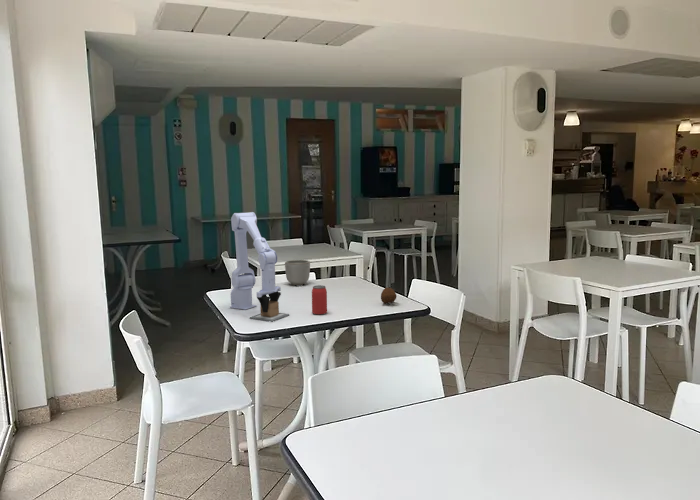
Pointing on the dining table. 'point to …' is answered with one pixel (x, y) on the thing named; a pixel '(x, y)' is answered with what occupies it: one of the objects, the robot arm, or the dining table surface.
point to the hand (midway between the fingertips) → (269, 310)
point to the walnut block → (271, 309)
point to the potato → (388, 295)
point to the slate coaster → (265, 318)
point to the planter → (297, 271)
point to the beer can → (319, 300)
